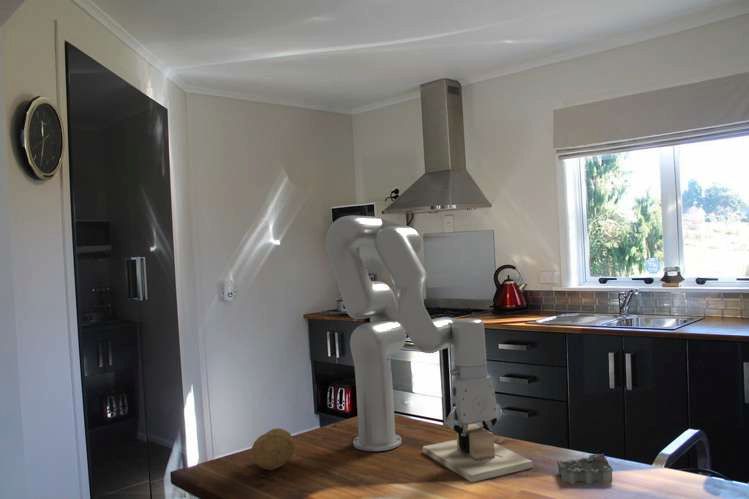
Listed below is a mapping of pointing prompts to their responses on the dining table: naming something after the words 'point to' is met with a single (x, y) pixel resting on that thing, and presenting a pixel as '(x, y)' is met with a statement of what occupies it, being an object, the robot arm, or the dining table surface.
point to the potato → (273, 449)
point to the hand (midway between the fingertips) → (475, 448)
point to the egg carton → (586, 469)
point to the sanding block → (479, 443)
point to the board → (477, 469)
